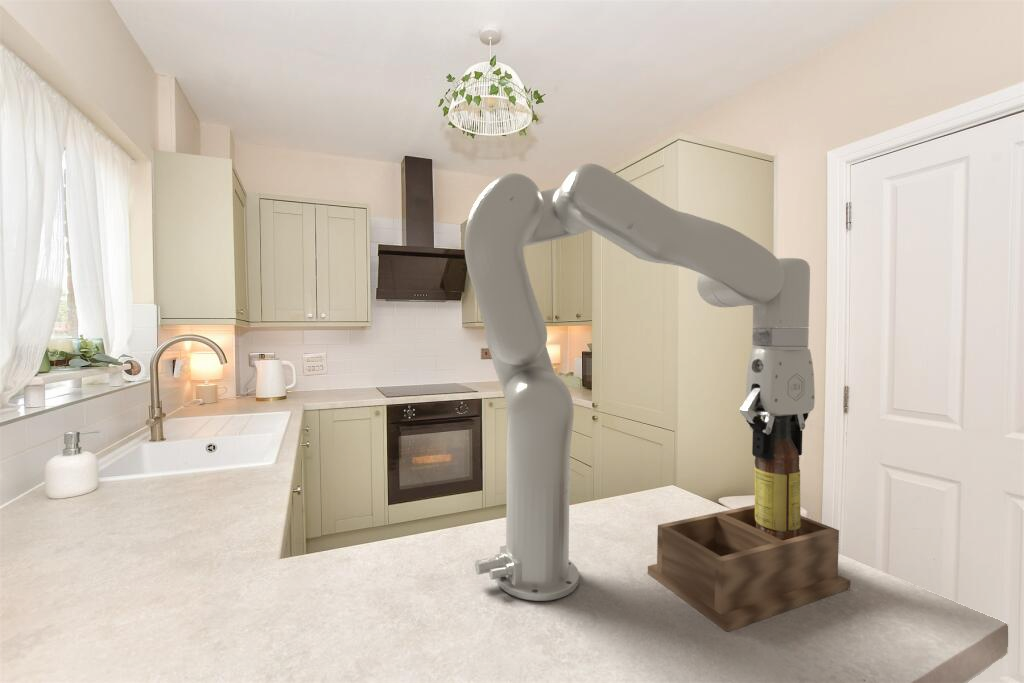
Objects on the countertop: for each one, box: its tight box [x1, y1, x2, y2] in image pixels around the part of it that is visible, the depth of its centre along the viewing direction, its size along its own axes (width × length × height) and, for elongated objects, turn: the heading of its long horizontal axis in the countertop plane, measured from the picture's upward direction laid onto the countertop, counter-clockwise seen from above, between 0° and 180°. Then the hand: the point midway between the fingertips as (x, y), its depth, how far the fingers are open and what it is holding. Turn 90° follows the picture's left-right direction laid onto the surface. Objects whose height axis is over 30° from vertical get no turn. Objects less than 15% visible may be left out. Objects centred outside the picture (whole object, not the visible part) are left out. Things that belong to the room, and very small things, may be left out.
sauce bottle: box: [754, 408, 801, 540], centre depth 72 cm, size 6×6×20 cm
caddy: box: [647, 504, 851, 633], centre depth 70 cm, size 25×15×8 cm, turn 114°
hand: (777, 454), depth 72 cm, fingers closed on sauce bottle, 5 cm apart
